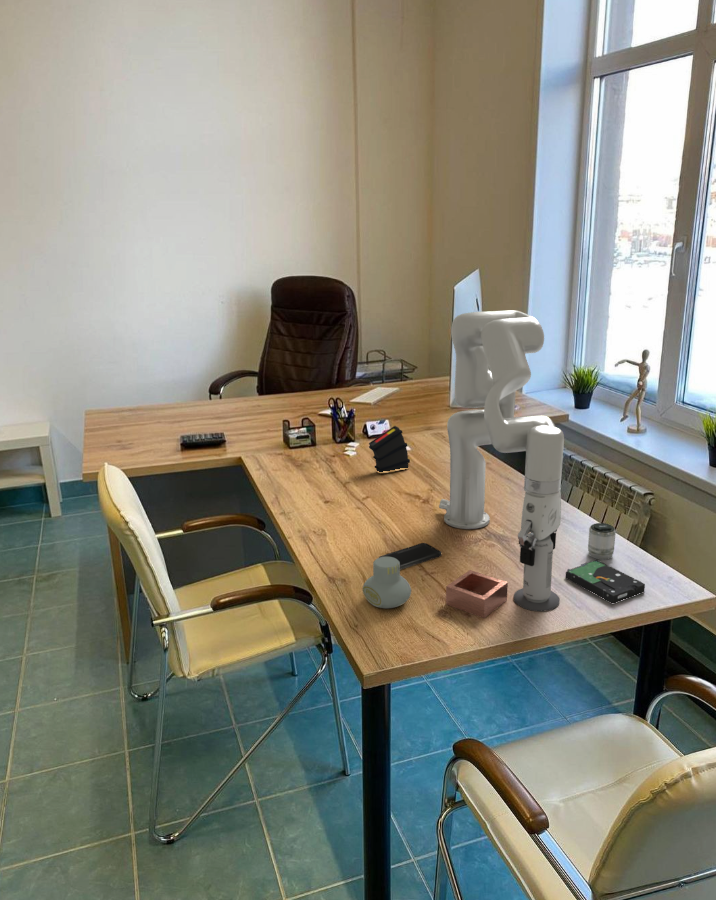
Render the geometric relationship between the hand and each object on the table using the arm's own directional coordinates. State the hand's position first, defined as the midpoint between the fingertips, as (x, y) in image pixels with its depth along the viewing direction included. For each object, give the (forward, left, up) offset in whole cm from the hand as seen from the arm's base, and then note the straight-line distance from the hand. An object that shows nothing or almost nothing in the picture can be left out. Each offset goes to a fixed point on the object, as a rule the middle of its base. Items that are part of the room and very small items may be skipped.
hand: (537, 555), depth 168 cm
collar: (-10, -9, -11) cm, 17 cm away
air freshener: (-26, -21, -11) cm, 35 cm away
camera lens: (+2, +30, -11) cm, 32 cm away
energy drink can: (0, 0, -10) cm, 10 cm away
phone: (-35, 0, -11) cm, 36 cm away
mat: (0, 0, -11) cm, 11 cm away
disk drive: (+9, +15, -11) cm, 21 cm away
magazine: (-78, +47, -11) cm, 91 cm away
